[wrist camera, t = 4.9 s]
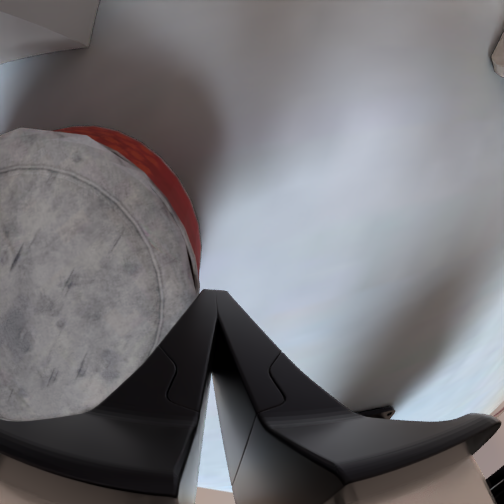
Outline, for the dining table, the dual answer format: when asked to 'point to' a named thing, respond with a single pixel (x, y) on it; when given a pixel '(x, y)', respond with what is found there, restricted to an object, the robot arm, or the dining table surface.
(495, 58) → the electrical switch
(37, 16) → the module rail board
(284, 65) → the dining table surface
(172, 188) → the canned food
